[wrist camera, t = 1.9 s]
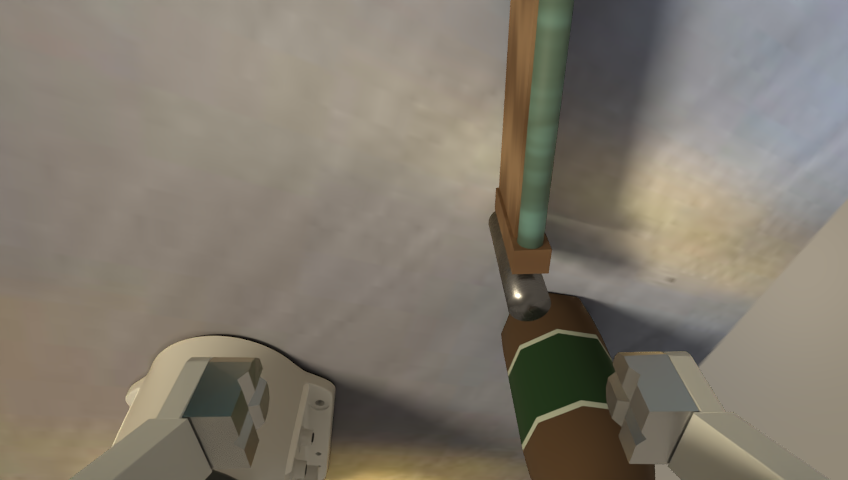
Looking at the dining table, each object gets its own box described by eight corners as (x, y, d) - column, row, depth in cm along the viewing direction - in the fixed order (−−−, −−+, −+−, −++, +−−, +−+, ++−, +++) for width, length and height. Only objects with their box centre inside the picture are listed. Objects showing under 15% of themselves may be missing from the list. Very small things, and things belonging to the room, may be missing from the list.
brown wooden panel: (512, -96, 23) (545, -101, 17) (553, -97, 23) (601, -103, 17) (494, 208, 33) (512, 274, 27) (524, 207, 33) (548, 273, 27)
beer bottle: (592, 349, 42) (751, 741, 22) (503, 362, 43) (578, 751, 23) (593, 281, 38) (790, 689, 18) (494, 296, 38) (576, 703, 18)
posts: (500, -193, 22) (550, -259, 14) (570, -195, 22) (662, -264, 14) (482, 236, 35) (502, 334, 27) (526, 235, 35) (559, 333, 27)
